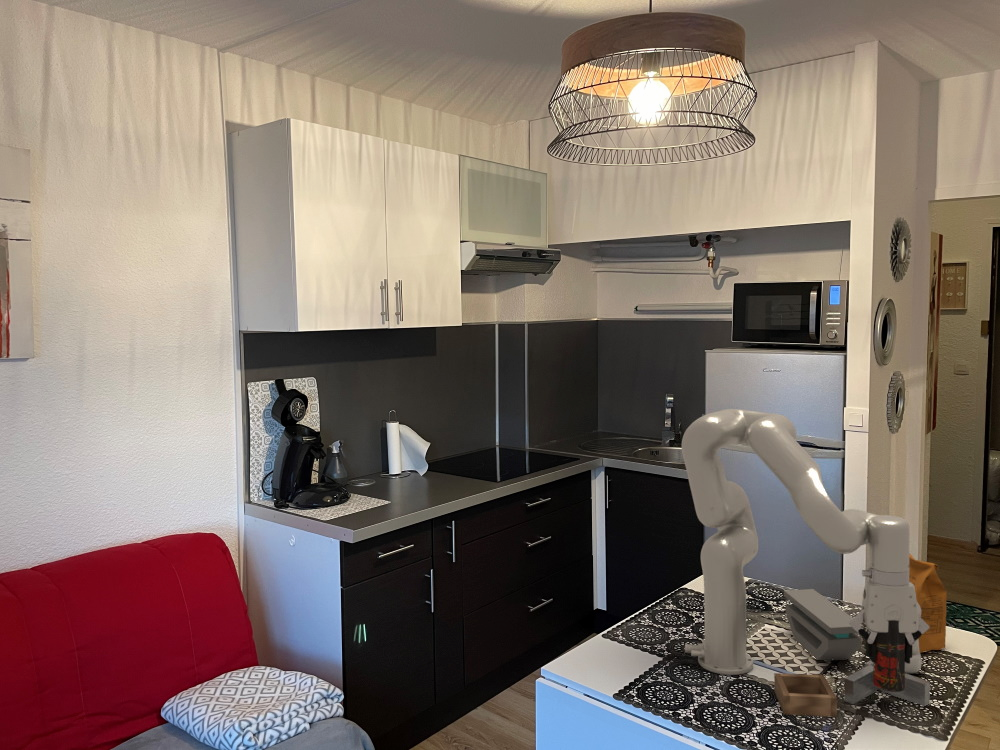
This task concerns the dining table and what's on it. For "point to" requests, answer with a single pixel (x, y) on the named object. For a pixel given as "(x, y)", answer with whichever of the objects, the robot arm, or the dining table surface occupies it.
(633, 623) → the dining table surface
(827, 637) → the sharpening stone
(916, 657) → the plastic bottle
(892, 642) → the deodorant
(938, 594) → the coffee package
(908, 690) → the v block
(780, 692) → the block
